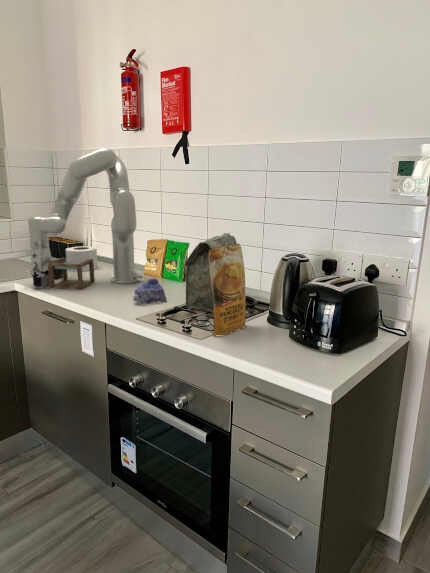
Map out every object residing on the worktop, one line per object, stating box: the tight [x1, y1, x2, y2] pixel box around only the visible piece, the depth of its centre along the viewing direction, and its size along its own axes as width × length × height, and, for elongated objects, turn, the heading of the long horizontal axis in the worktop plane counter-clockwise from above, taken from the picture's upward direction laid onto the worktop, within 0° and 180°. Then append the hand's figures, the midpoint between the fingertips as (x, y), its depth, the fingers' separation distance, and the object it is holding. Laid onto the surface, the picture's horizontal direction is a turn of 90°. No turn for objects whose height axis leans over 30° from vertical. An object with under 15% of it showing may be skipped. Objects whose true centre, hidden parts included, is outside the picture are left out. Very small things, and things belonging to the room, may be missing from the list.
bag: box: [184, 232, 238, 314], centre depth 169 cm, size 22×16×27 cm
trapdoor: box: [55, 260, 88, 270], centre depth 195 cm, size 10×11×1 cm
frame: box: [48, 257, 95, 291], centre depth 196 cm, size 14×14×11 cm
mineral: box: [132, 277, 167, 305], centre depth 174 cm, size 14×10×10 cm
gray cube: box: [34, 274, 50, 289], centre depth 194 cm, size 5×5×5 cm
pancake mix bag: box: [208, 243, 246, 337], centre depth 141 cm, size 7×19×28 cm, turn 138°
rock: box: [40, 258, 63, 279], centre depth 209 cm, size 12×9×10 cm
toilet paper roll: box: [65, 245, 99, 272], centre depth 230 cm, size 16×15×11 cm
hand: (42, 283), depth 194 cm, fingers open, 8 cm apart
